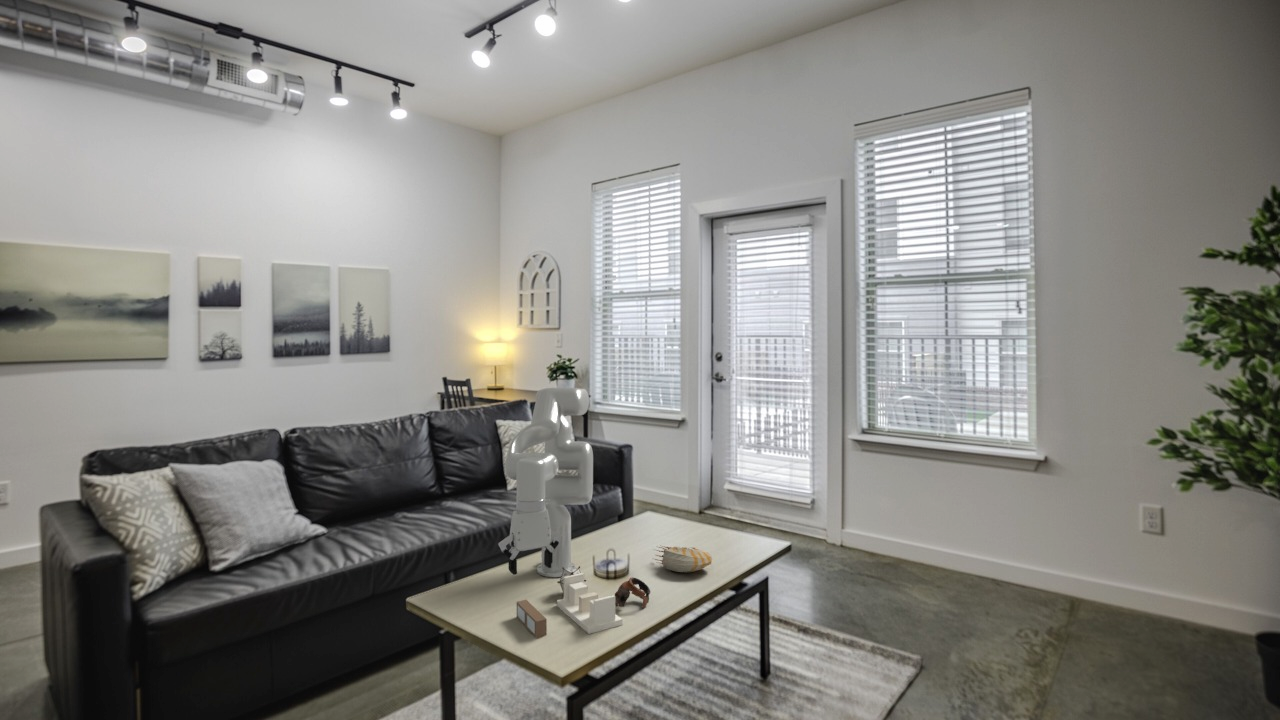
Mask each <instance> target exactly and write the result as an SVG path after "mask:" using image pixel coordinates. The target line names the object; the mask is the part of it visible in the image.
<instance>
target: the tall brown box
mask: <svg viewBox="0 0 1280 720" xmlns="http://www.w3.org/2000/svg"><path fill="white" fill-rule="evenodd" d="M516 618H517V619H518V621H520V623H521V624H523V626H524V627H525V628H526V629H527V630H528V631H529V632H530V633H531V634H532V636H534V637H535V639H537V638H542V637H545V636H547V635H548V634H547V632H548V631H547V622H548V621H547V620H548V619H547V618H546V617H545V616H544V615H543V614H542V613H541V612H540V611H539V610H538V609H537V608H536V607H535V606H534V605H532V603H530V602H529V601H528V600H527V599H523V600H518V601H516Z"/></svg>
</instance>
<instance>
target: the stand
mask: <svg viewBox="0 0 1280 720" xmlns="http://www.w3.org/2000/svg"><path fill="white" fill-rule="evenodd" d="M584 580H585V573H584V572H581V573H580V574H575V575H570V576H566V577H564V593H563V595H564V597H563V598H561V599H557V600H556V606H557V607H558V608H559V609H560V610H561V611H562V612H563V613H564V614H566V615H567V616H568V617H569V618H571V620H572V621H574V622H575V623H576V624H577V625H578V626H579V627H580V628H581V629H582V630H584V631H585V632H586V633H587V634H588V635H589V634H594V633H598V632H601V631H605V630H608V629H612V628H616V627H619V626H623V618H622V617H620V616H619V615H617V614H616V605H615V594H613V595H608V596H604V597H599V593H597V592H596V591H595V592H588V590H589V589H588V585H586V584H585V582H584Z"/></svg>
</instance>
